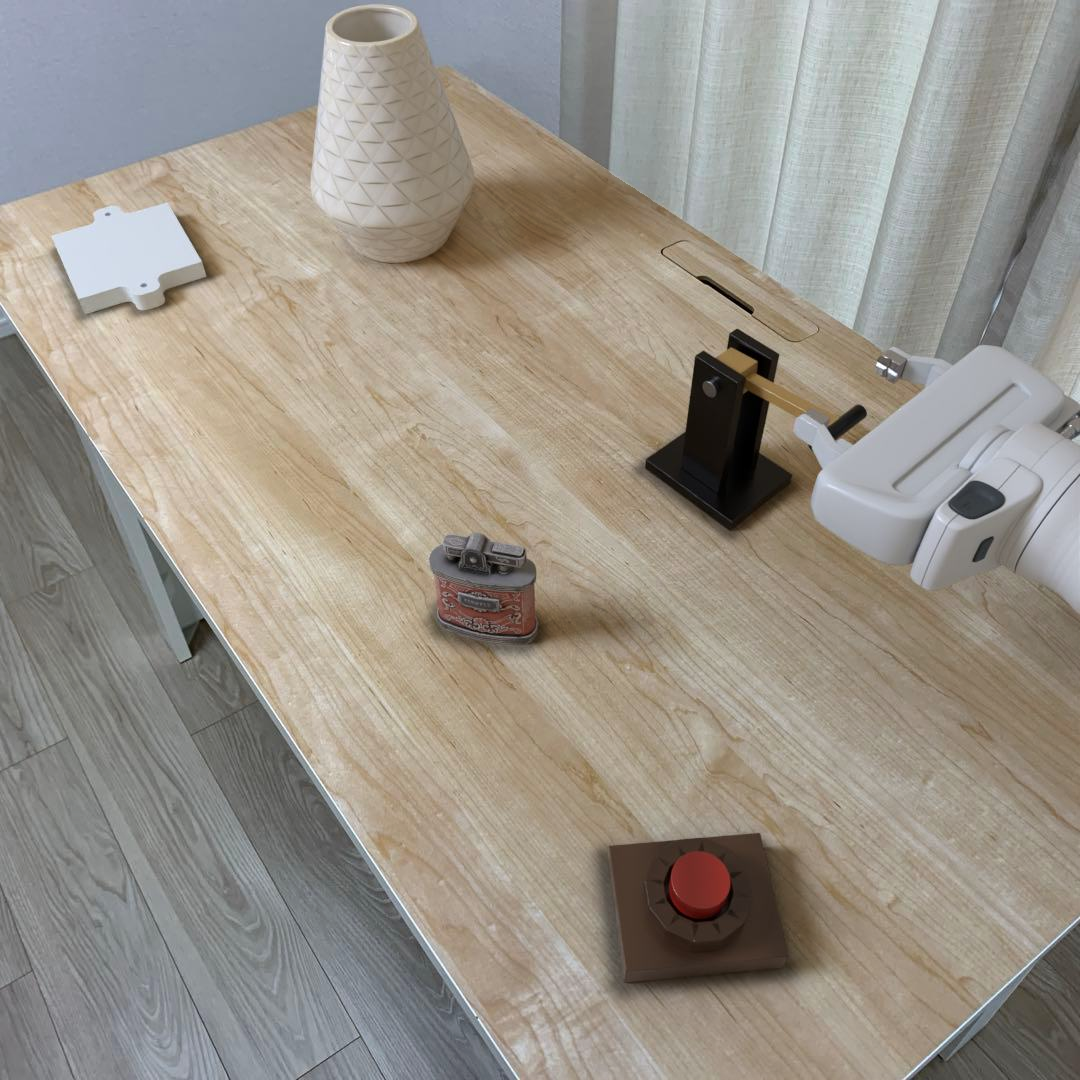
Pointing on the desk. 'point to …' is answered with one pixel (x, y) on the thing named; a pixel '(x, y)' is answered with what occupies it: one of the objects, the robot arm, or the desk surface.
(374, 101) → the vase
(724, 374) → the switch bracket
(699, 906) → the light button
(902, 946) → the desk surface
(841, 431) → the switch lever
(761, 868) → the button box
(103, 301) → the mounting plate
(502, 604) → the lighter
